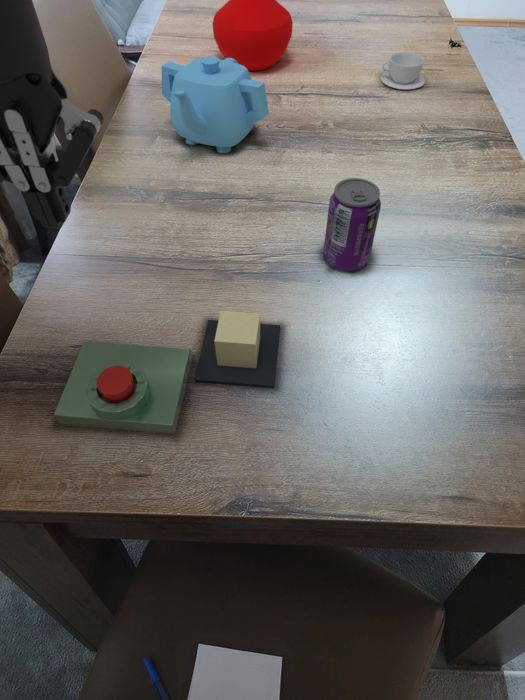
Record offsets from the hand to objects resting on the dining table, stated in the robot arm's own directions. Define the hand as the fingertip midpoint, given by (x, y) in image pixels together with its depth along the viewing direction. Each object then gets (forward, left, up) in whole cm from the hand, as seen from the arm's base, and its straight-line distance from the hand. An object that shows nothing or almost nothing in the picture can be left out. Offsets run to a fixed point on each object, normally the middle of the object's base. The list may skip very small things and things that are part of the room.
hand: (56, 221), depth 42 cm
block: (+14, +6, -24) cm, 29 cm away
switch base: (+1, -1, -25) cm, 25 cm away
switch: (+1, -3, -21) cm, 22 cm away
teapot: (+2, +58, -25) cm, 63 cm away
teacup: (+41, +87, -25) cm, 99 cm away
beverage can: (+28, +26, -25) cm, 46 cm away
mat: (+14, +6, -25) cm, 29 cm away
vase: (+6, +94, -25) cm, 98 cm away
